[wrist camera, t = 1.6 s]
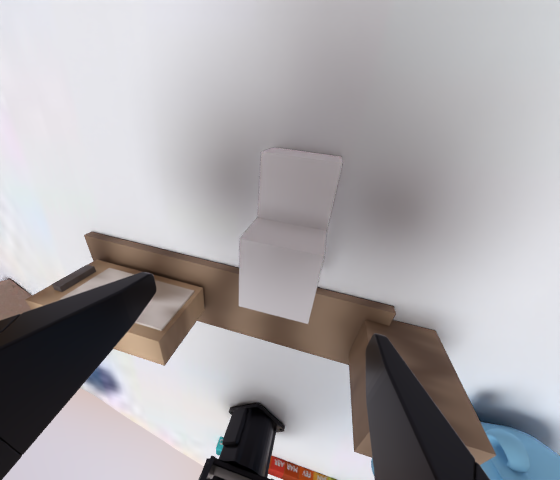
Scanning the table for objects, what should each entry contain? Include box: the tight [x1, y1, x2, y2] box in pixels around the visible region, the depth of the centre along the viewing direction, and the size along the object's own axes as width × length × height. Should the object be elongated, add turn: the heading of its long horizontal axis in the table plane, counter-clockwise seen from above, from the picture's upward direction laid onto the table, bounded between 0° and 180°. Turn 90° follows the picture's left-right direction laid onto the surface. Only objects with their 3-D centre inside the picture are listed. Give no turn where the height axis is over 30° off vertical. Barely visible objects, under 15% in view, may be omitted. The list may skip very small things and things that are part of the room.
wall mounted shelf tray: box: [25, 260, 205, 366], centre depth 19 cm, size 12×4×6 cm, turn 83°
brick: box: [0, 279, 32, 320], centre depth 32 cm, size 17×8×5 cm, turn 37°
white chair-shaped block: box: [239, 147, 343, 324], centre depth 14 cm, size 4×9×6 cm, turn 175°
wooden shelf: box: [84, 232, 496, 465], centre depth 18 cm, size 34×8×8 cm, turn 83°
